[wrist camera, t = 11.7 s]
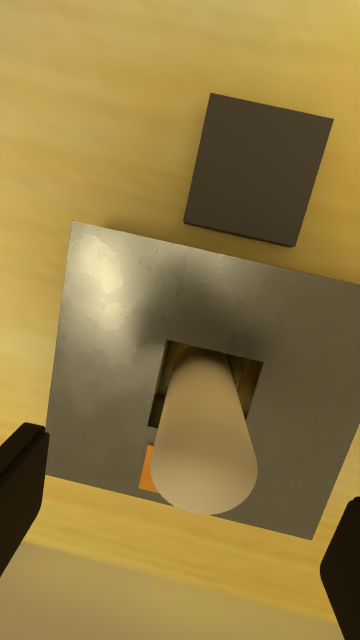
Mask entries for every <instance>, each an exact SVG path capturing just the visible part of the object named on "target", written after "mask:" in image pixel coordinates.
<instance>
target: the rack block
mask: <svg viewBox="0 0 360 640" xmlns="http://www.w3.org/2000/svg"><path fill="white" fill-rule="evenodd" d="M169 340H171V341H175V342H179V343H184V344H188V345H192V346H196V347H201V348H205V349H209V350H214V351H218V352H222V353H226V354H231V355H235V356H239V357H244V358H246V362H245V365H244V368H243V372H242V375H241V379H240V382H239V386H238V389H237V394H238V397H239V401H240V404H241V408H242V411H243V415H244V418H245V422H246V425H247V429H248V432H249V436H250V439H251V443H252V446H253V450H254V453H255V457H256V461H257V468H258V473H257V479H256V483H255V486H254V488H253V490H252V491H251V493H250V494H249V496H248V497H247V498H246V499H245V500H244V501H243V502H242V503H241V504H239V505H238V506H236V507H235V508H233V509H231V510H228V511H226V512H223V513H219V514H212V515H211V516H215V517H219V518H223V519H227V520H231V521H235V522H239V523H244V524H248V525H252V526H256V527H260V528H264V529H268V530H272V531H276V532H280V533H284V534H288V535H292V536H296V537H300V538H304V539H308V540H312V538H313V536H314V534H315V531H316V529H317V526H318V524H319V521H320V519H321V516H322V514H323V511H324V509H325V507H326V504H327V502H328V499H329V497H330V494H331V492H332V489H333V487H334V485H335V482H336V480H337V477H338V475H339V472H340V470H341V467H342V465H343V462H344V460H345V458H346V455H347V453H348V450H349V448H350V445H351V443H352V440H353V438H354V436H355V433H356V431H357V428H358V426H359V423H360V285H357V284H352V283H348V282H344V281H339V280H335V279H330V278H326V277H321V276H317V275H313V274H308V273H304V272H299V271H295V270H290V269H286V268H282V267H277V266H273V265H268V264H264V263H259V262H255V261H251V260H246V259H242V258H237V257H233V256H228V255H224V254H220V253H215V252H211V251H206V250H202V249H197V248H193V247H189V246H184V245H180V244H175V243H171V242H166V241H162V240H158V239H153V238H149V237H144V236H140V235H135V234H131V233H127V232H122V231H118V230H113V229H109V228H104V227H100V226H96V225H91V224H87V223H82V222H78V221H73V220H72V224H71V231H70V239H69V247H68V255H67V263H66V271H65V278H64V286H63V294H62V302H61V310H60V318H59V325H58V333H57V341H56V349H55V357H54V365H53V372H52V380H51V388H50V396H49V404H48V412H47V419H46V427H45V432H48V433H49V434H50V439H49V447H48V455H47V463H46V471H45V475H49V476H53V477H57V478H61V479H65V480H69V481H74V482H78V483H82V484H86V485H90V486H94V487H98V488H102V489H106V490H110V491H114V492H118V493H122V494H126V495H130V496H134V497H138V498H142V499H146V500H150V501H154V502H159V503H163V504H167V505H171V506H173V505H172V504H170V503H169V502H168V501H167V500H165V499H164V498H163V497H162V495H161V494H160V493H159V492H158V490H157V489H156V487H155V485H154V483H153V480H152V477H151V472H150V461H151V456H152V452H153V448H154V444H155V439H156V435H157V431H158V427H159V423H160V419H161V415H162V411H163V407H164V403H165V399H166V397H163V396H159V395H157V394H158V389H159V385H160V380H161V376H162V371H163V367H164V362H165V358H166V353H167V349H168V344H169Z"/></svg>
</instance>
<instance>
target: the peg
mask: <svg viewBox="0 0 360 640" xmlns="http://www.w3.org/2000/svg"><path fill="white" fill-rule="evenodd" d="M150 472H151V477H152V480H153V483H154V485H155V487H156V489H157V490H158V492H159V493H160V494H161V495H162V497H163V498H164V499H165V500H167V501H168V502H169V503H170V504H172V505H173V506H175V507H177V508H179V509H181V510H183V511H186V512H189V513H193V514H200V515H212V514H219V513H223V512H226V511H228V510H231V509H233V508H235V507H236V506H238V505H239V504H241V503H242V502H243V501H244V500H245V499H246V498H247V497H248V496H249V494H250V493H251V491H252V490H253V488H254V486H255V483H256V479H257V473H258V468H257V461H256V457H255V453H254V450H253V446H252V443H251V439H250V436H249V432H248V429H247V425H246V422H245V418H244V415H243V411H242V408H241V404H240V401H239V397H238V394H237V390H236V387H235V383H234V380H233V376H232V373H231V369H230V366H229V362H228V359H227V357H226V355H225V354H224V353H222V352H218V351H214V350H209V349H205V348H201V347H196V346H192V345H187V346H186V347H184V348H183V349H182V350H181V351H180V352H179V353H178V355H177V357H176V359H175V362H174V366H173V370H172V374H171V378H170V382H169V386H168V390H167V394H166V399H165V403H164V407H163V411H162V415H161V419H160V423H159V427H158V431H157V435H156V439H155V444H154V448H153V452H152V456H151V461H150Z"/></svg>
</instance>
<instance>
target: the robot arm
mask: <svg viewBox="0 0 360 640" xmlns="http://www.w3.org/2000/svg"><path fill="white" fill-rule="evenodd" d="M49 439H50V434H49V433H48V432H45V427H44V426H41V425H36V424H32V423H27V422H26V423H23V424H22V425H21V426H20V427H19V428H18V429H17V430H16V431H15V432H14V433H13V434H12V435H11V436H10V437H9V438H8V439H7V440H6V441H5V442H4V443H3V444H2V445H1V446H0V577H1V575H2V573H3V571H4V570H5V568H6V566H7V565H8V563H9V562H10V560H11V558H12V557H13V555H14V553H15V551H16V550H17V548H18V546H19V545H20V543H21V541H22V540H23V538H24V536H25V535H26V533H27V531H28V530H29V528H30V526H31V525H32V523H33V521H34V520H35V518H36V516H37V514H38V512H39V510H40V507H41V503H42V496H43V488H44V480H45V471H46V463H47V455H48V447H49ZM320 576H321V580H322V583H323V585H324V588H325V590H326V593H327V595H328V598H329V601H330V603H331V606H332V608H333V611H334V613H335V616H336V619H337V621H338V624H339V626H340V629H341V631H342V634H343V636H344V639H345V640H360V497H355V498H354V499H353V501H349V503H348V504H347V507H346V509H345V511H344V513H343V515H342V518H341V520H340V522H339V524H338V527H337V529H336V531H335V533H334V535H333V538H332V540H331V542H330V544H329V546H328V549H327V551H326V553H325V555H324V558H323V560H322V562H321V565H320Z"/></svg>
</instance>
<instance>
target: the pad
mask: <svg viewBox="0 0 360 640" xmlns="http://www.w3.org/2000/svg"><path fill="white" fill-rule="evenodd" d="M333 120H334V119H331V118H326V117H321V116H317V115H312V114H307V113H303V112H298V111H293V110H289V109H284V108H279V107H275V106H270V105H265V104H260V103H256V102H251V101H246V100H242V99H237V98H232V97H228V96H223V95H218V94H213V93H210V98H209V103H208V107H207V112H206V117H205V121H204V126H203V131H202V136H201V140H200V145H199V150H198V154H197V159H196V164H195V169H194V173H193V178H192V183H191V187H190V192H189V197H188V202H187V206H186V211H185V216H184V220H183V222H184V224H189V225H193V226H198V227H202V228H207V229H211V230H216V231H220V232H225V233H229V234H233V235H238V236H242V237H247V238H251V239H256V240H260V241H265V242H269V243H274V244H278V245H283V246H287V247H295V245H296V242H297V239H298V235H299V232H300V229H301V226H302V222H303V219H304V216H305V212H306V209H307V206H308V202H309V199H310V196H311V193H312V189H313V186H314V183H315V179H316V176H317V173H318V169H319V166H320V163H321V159H322V156H323V153H324V150H325V146H326V143H327V140H328V136H329V133H330V130H331V126H332V123H333Z"/></svg>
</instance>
